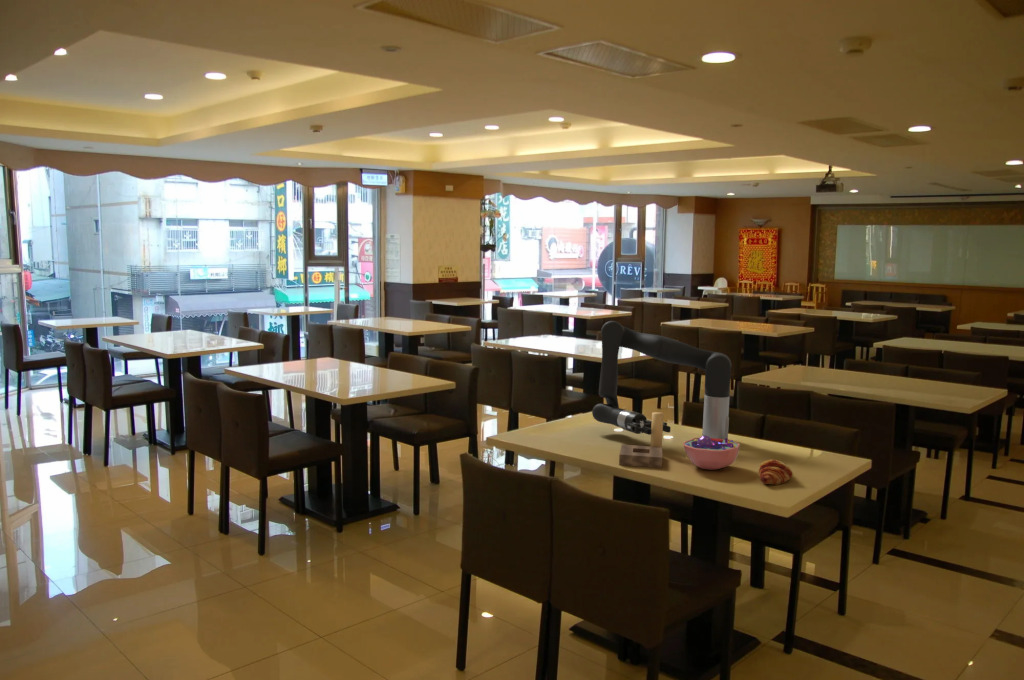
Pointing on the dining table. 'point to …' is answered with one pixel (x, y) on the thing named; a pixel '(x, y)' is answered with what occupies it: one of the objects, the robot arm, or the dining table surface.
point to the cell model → (711, 452)
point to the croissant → (774, 472)
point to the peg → (657, 429)
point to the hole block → (640, 456)
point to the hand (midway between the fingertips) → (660, 430)
